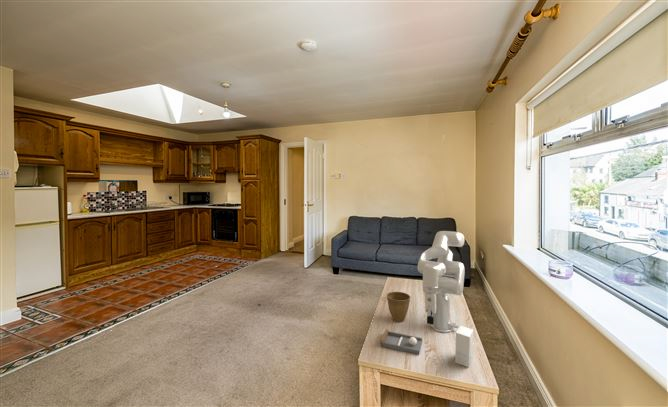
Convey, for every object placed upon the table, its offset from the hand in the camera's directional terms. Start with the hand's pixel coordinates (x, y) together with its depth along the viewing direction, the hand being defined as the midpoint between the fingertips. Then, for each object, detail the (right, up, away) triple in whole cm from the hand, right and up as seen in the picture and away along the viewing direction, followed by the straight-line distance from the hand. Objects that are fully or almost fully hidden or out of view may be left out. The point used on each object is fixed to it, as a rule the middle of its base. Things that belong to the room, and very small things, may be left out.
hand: (430, 323), depth 141 cm
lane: (-13, -15, +7) cm, 21 cm away
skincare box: (+14, -15, -8) cm, 22 cm away
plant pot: (-8, -13, +35) cm, 38 cm away
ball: (-8, -12, +5) cm, 15 cm away
